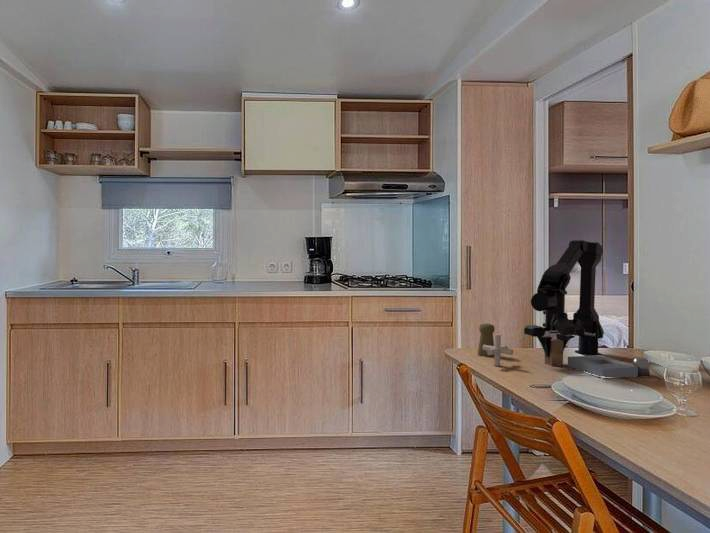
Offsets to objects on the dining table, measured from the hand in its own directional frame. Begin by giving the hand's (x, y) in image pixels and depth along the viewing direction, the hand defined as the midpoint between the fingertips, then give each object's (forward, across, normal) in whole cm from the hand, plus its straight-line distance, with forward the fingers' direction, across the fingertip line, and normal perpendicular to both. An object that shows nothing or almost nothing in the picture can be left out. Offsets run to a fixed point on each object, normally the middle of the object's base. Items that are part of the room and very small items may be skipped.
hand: (553, 356), depth 165 cm
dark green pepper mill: (+3, -15, +17) cm, 23 cm away
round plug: (+3, +18, -17) cm, 25 cm away
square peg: (+2, 0, 0) cm, 2 cm away
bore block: (+2, +9, -11) cm, 14 cm away
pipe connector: (+3, -19, +2) cm, 19 cm away
